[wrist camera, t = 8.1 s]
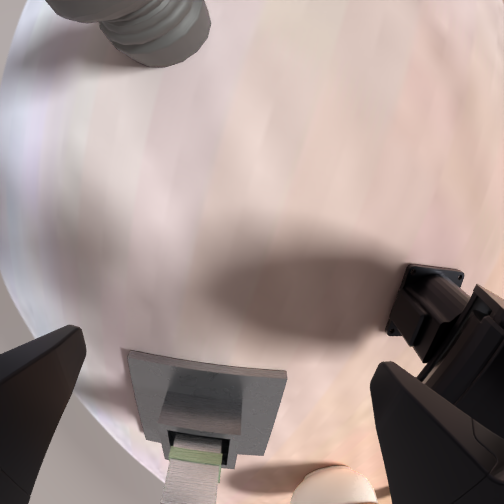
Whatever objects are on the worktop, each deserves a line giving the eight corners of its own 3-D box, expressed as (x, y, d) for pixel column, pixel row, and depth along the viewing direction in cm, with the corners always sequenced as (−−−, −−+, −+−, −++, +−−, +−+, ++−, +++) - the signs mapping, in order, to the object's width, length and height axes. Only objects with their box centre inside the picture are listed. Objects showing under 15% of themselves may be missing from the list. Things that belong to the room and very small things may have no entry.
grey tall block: (223, 439, 21) (214, 545, 11) (221, 461, 23) (213, 552, 13) (174, 431, 21) (151, 535, 11) (177, 455, 23) (160, 544, 13)
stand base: (286, 371, 24) (291, 413, 19) (263, 449, 29) (263, 483, 24) (130, 350, 24) (111, 387, 19) (147, 433, 28) (138, 465, 24)
